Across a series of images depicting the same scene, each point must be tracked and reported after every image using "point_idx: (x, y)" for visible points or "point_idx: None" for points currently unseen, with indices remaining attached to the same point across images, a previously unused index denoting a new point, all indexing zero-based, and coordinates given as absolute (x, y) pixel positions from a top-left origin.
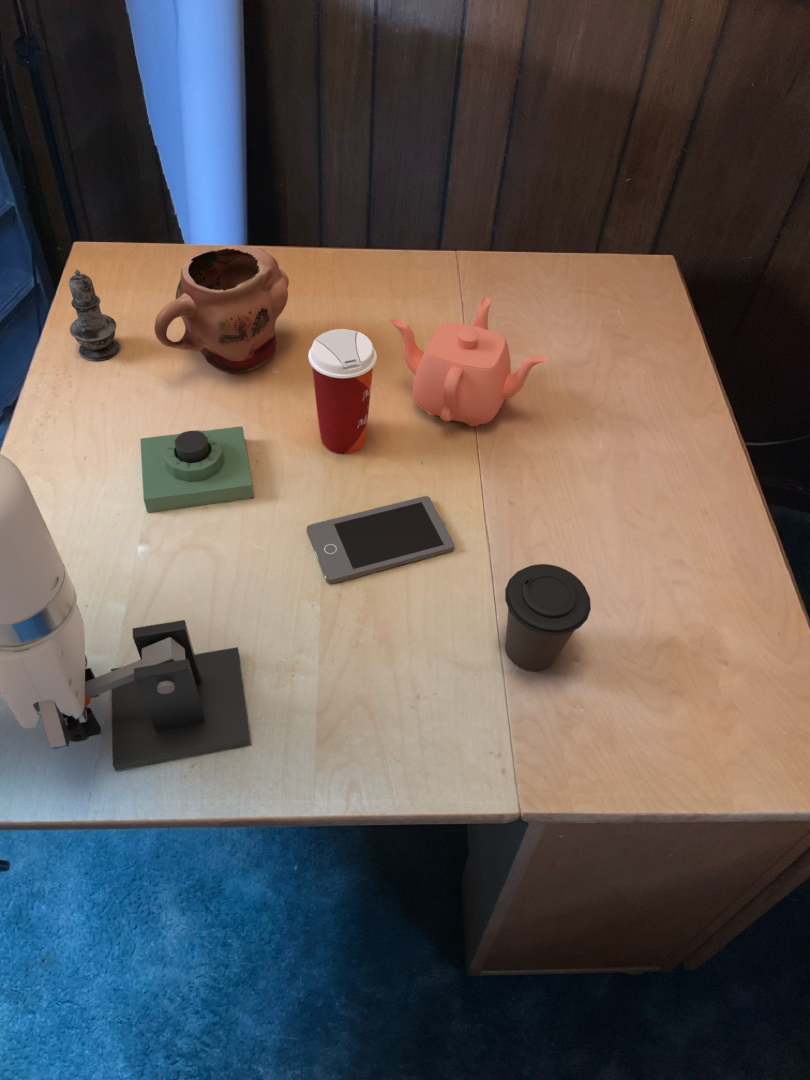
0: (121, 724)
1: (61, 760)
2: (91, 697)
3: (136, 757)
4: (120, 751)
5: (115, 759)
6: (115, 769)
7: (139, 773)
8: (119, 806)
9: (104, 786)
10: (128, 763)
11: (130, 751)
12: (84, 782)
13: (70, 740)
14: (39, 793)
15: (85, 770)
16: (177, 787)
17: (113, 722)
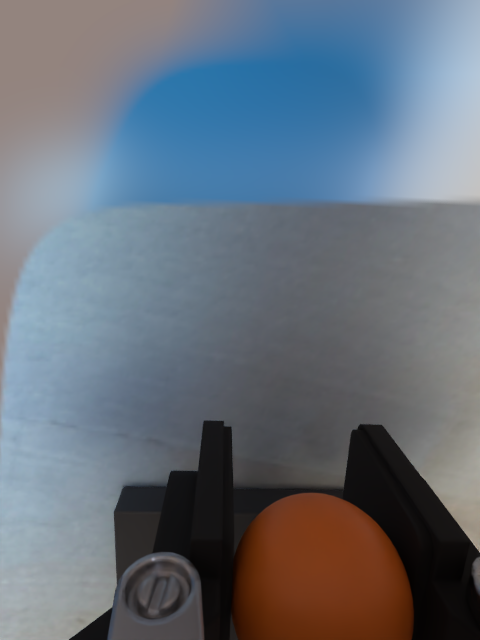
0: (239, 535)
1: (188, 355)
2: (343, 499)
3: (127, 565)
4: (153, 532)
5: (130, 520)
6: (120, 495)
7: (107, 534)
8: (23, 489)
9: (86, 458)
10: (115, 544)
11: (148, 553)
12: (107, 412)
13: (169, 475)
14: (95, 295)
15: (142, 415)
16: (55, 604)
17: (251, 519)
